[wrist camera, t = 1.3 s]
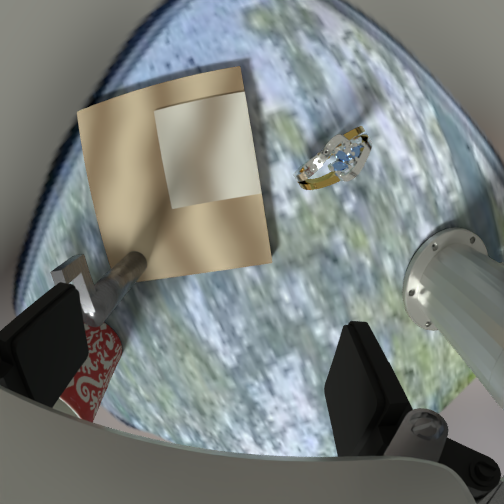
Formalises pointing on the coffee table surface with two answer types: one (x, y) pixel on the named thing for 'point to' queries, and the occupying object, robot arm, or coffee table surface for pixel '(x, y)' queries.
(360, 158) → the ring
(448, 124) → the coffee table surface
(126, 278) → the keeper hook
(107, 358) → the mug
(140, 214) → the board
